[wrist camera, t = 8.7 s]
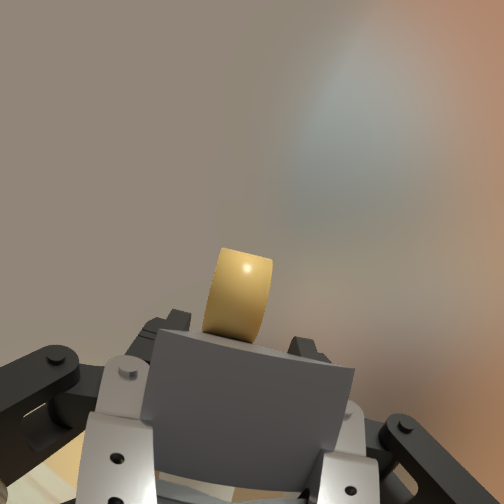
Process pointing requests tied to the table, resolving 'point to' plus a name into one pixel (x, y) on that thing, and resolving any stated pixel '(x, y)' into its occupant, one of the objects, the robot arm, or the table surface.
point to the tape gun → (240, 392)
